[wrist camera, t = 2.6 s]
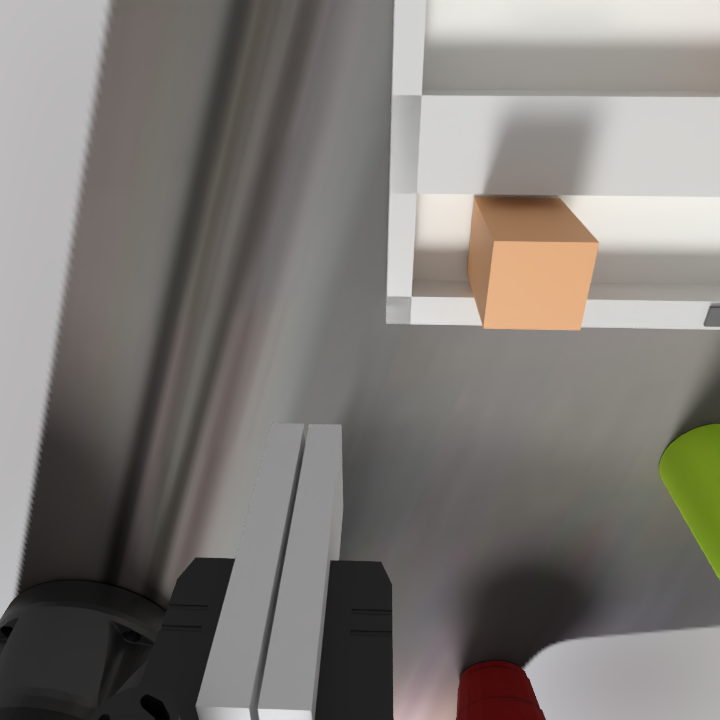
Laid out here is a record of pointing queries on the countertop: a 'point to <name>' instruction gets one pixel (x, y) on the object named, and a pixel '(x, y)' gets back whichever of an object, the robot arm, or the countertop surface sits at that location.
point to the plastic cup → (496, 693)
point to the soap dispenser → (697, 485)
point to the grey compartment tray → (559, 148)
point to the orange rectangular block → (529, 263)
